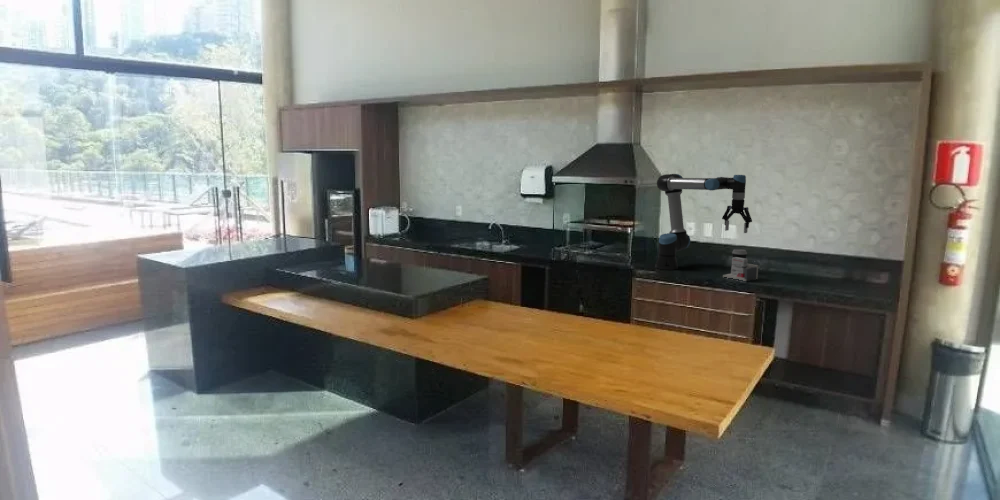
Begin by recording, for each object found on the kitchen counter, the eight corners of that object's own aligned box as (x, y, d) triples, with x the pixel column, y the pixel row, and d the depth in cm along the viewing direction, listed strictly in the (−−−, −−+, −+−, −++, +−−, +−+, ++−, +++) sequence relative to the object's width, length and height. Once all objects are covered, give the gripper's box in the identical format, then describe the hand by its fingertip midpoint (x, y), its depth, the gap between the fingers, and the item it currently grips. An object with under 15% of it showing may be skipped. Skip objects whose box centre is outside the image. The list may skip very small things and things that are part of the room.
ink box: (747, 276, 370) (748, 258, 368) (742, 277, 367) (744, 259, 365) (734, 274, 377) (736, 256, 375) (730, 275, 374) (731, 257, 372)
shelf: (722, 277, 375) (723, 263, 373) (735, 274, 382) (736, 261, 380) (745, 282, 362) (746, 268, 360) (757, 279, 369) (758, 265, 367)
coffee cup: (730, 273, 387) (731, 250, 384) (730, 270, 396) (732, 248, 393) (745, 274, 384) (747, 251, 381) (745, 271, 392) (747, 249, 389)
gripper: (717, 197, 381) (715, 229, 385) (752, 200, 360) (750, 234, 364) (724, 197, 385) (722, 228, 389) (759, 200, 364) (757, 233, 368)
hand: (736, 231), depth 376 cm, fingers open, 13 cm apart
